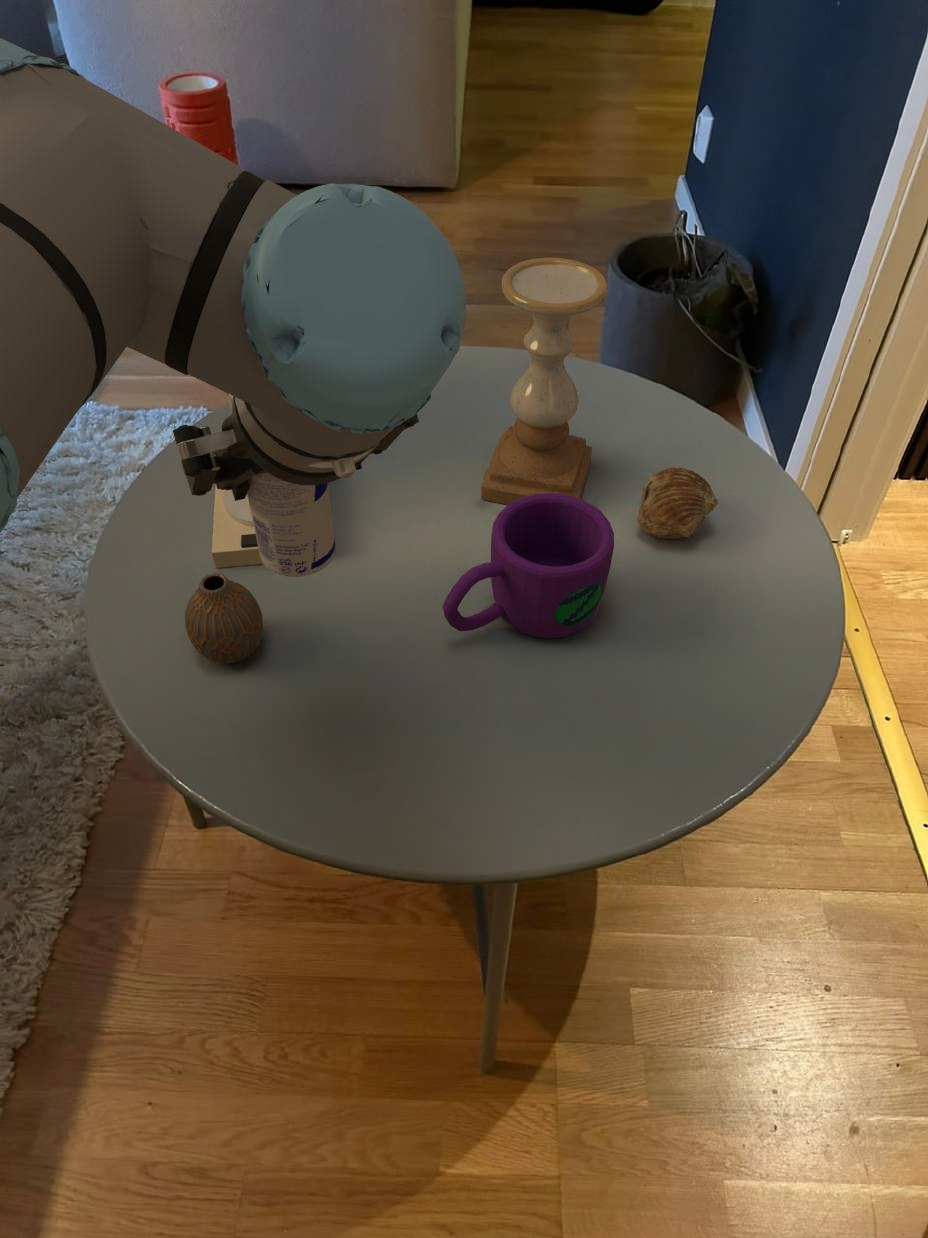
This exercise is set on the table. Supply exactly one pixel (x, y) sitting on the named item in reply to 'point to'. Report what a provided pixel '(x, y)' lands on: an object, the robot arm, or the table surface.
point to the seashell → (675, 503)
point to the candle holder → (544, 384)
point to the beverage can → (291, 524)
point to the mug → (541, 567)
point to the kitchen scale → (233, 532)
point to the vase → (223, 620)
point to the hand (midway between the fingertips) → (277, 471)
